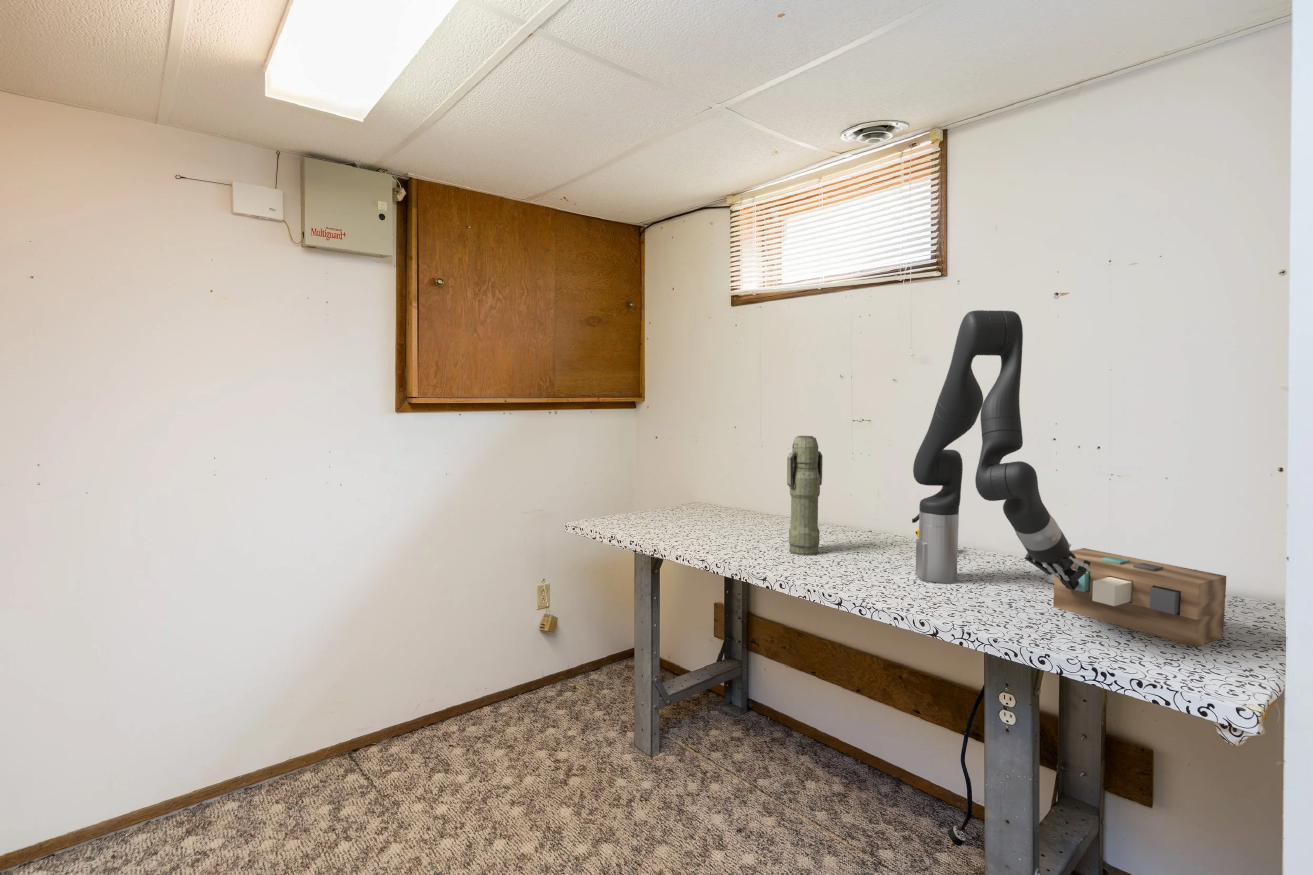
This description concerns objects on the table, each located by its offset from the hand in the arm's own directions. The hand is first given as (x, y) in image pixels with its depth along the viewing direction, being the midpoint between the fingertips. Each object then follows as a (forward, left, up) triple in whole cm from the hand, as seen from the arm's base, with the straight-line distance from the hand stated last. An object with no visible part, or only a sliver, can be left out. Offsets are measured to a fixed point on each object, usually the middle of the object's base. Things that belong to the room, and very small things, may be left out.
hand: (1072, 585), depth 136 cm
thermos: (-51, +50, -7) cm, 72 cm away
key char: (+14, -10, -1) cm, 17 cm away
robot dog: (-15, +50, -7) cm, 53 cm away
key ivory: (+5, -6, -1) cm, 8 cm away
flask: (+10, +25, -7) cm, 28 cm away
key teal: (+5, +3, -1) cm, 6 cm away
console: (+11, -2, -6) cm, 13 cm away
